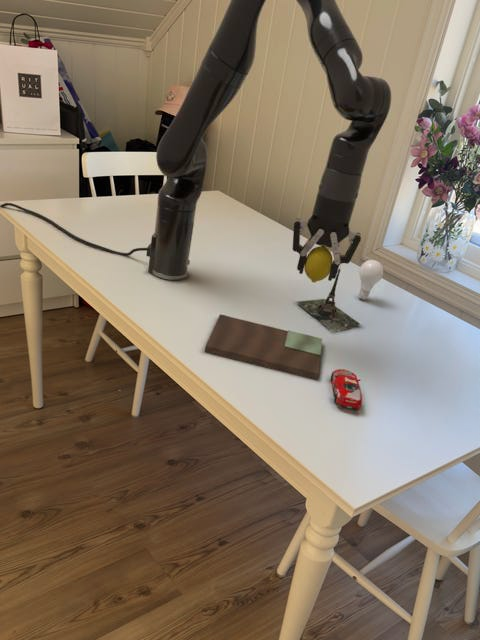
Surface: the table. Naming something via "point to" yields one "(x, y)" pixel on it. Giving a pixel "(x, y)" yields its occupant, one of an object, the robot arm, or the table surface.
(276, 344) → the board
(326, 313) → the eiffel tower souvenir
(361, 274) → the lightbulb
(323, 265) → the lemon
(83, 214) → the table surface
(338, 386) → the race car
